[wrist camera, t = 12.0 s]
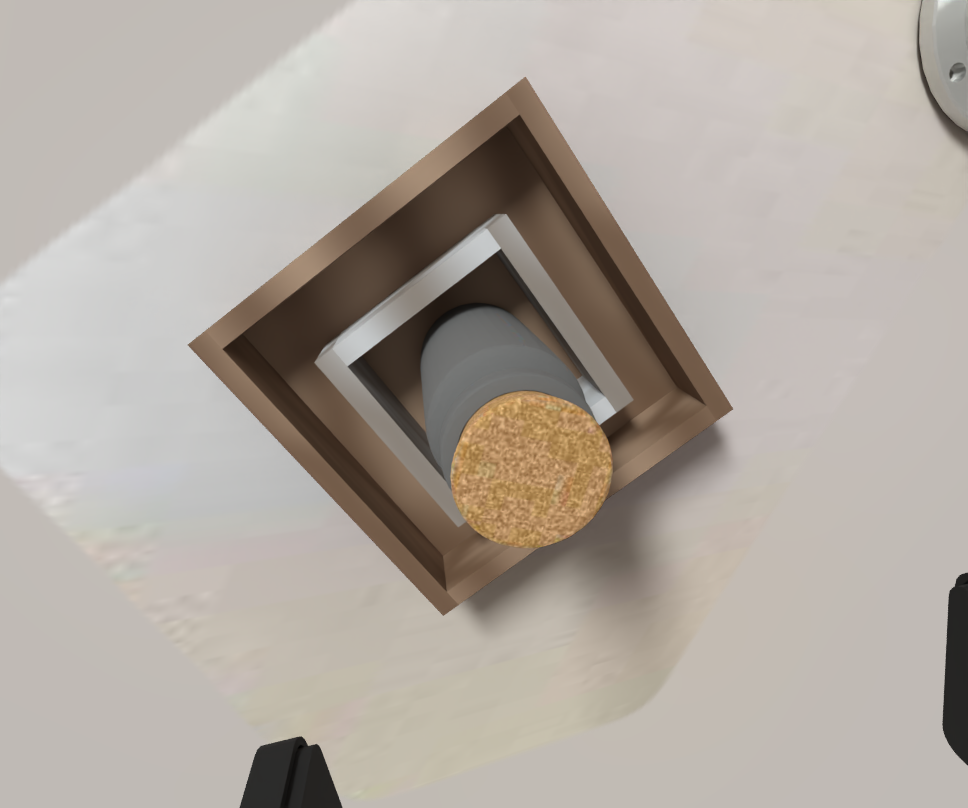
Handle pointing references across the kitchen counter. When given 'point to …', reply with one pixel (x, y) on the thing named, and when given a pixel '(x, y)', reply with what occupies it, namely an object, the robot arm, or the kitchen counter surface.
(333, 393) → the walled box
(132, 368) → the kitchen counter surface
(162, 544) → the kitchen counter surface
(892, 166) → the kitchen counter surface
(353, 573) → the kitchen counter surface
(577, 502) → the bottle
